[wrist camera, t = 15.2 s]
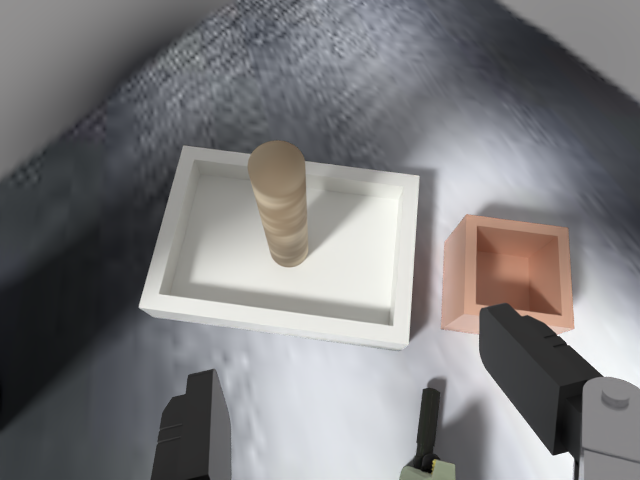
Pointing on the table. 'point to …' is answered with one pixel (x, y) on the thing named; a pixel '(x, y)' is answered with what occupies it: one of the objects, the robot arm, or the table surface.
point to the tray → (287, 282)
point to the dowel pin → (281, 199)
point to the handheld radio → (428, 444)
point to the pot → (506, 272)
